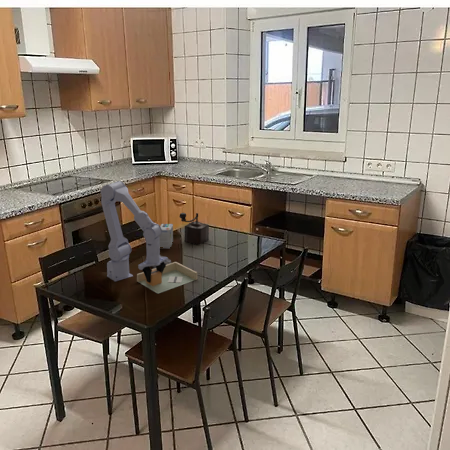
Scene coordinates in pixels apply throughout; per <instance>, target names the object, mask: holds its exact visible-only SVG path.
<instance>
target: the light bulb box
mask: <svg viewBox="0 0 450 450" xmlns="http://www.w3.org/2000/svg"><path fill="white" fill-rule="evenodd" d="M160 227H161V229H162V233H161V235H160V236H158V237H159V240H160V247H163V248H162V249H171V248H170V247H172V245H173V243H172V242H174V224H173V223H161V224H160Z"/></svg>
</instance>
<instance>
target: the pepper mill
mask: <svg viewBox="0 0 450 450" xmlns="http://www.w3.org/2000/svg"><path fill="white" fill-rule="evenodd" d="M186 217H187V214H186V213H185V212H181V213H180V214H179V218H180V219H181V220H180V222H184V223H188V224H186V225H184V239H183V240H184V242H186V243H189V244H193V245H196V246H197V245H198V246H200V245H202V244H204V243H206V242H208V241H209V239H210V238H209V233H210V232H209V231H210V230H209V229H210V224H209V223H208V224H207V223H202V222H200V221H199V213H197V212H196V213H195V217H194V218H192V219H190V220H187V218H186Z"/></svg>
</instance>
